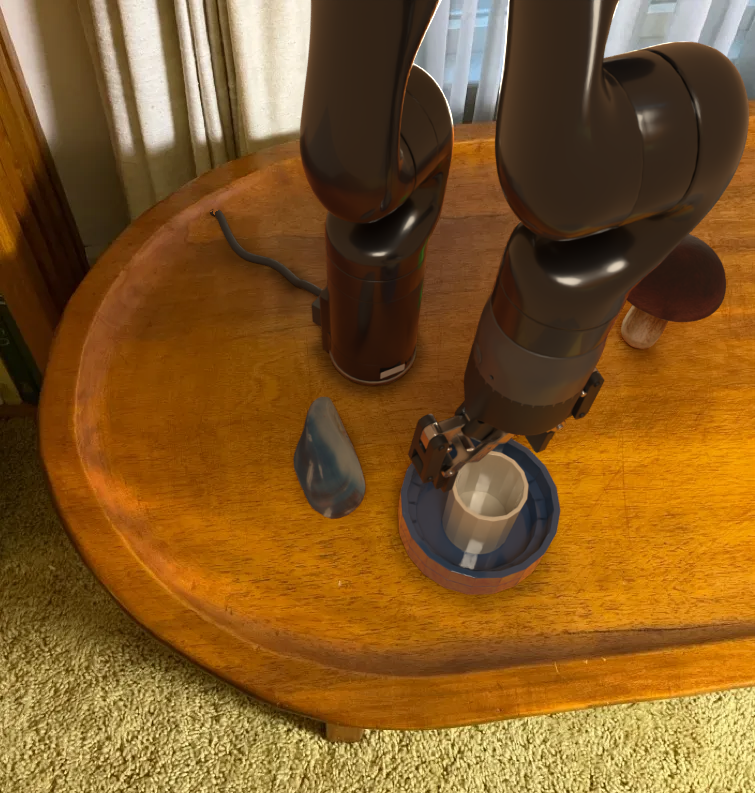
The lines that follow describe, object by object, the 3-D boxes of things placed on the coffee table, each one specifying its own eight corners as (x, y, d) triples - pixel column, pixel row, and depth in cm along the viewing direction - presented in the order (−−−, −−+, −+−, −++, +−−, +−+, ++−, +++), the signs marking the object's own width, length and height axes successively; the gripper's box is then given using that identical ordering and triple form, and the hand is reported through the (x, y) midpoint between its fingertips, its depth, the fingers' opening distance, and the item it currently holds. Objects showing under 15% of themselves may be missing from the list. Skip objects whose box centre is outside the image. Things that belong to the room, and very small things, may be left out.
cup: (429, 530, 72) (437, 494, 64) (463, 478, 75) (475, 437, 67) (489, 567, 70) (505, 535, 63) (522, 512, 73) (541, 475, 66)
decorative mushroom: (678, 392, 81) (739, 306, 68) (576, 364, 82) (618, 274, 70) (690, 315, 86) (749, 221, 73) (594, 289, 88) (636, 193, 75)
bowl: (369, 541, 72) (370, 519, 67) (447, 431, 78) (453, 404, 73) (500, 627, 68) (511, 610, 63) (571, 505, 74) (586, 481, 69)
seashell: (341, 531, 69) (386, 431, 68) (261, 486, 72) (303, 390, 71) (366, 525, 75) (408, 433, 74) (292, 484, 78) (331, 395, 77)
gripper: (461, 441, 44) (431, 536, 58) (662, 359, 47) (587, 467, 61) (404, 342, 47) (388, 455, 61) (596, 272, 51) (539, 393, 65)
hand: (488, 461), depth 61 cm, fingers open, 8 cm apart
